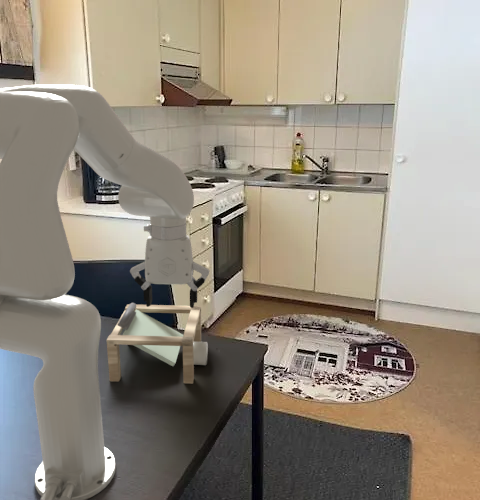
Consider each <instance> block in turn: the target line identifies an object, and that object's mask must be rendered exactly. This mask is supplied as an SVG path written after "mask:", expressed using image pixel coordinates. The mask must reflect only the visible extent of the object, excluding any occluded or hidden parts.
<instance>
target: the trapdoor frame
mask: <svg viewBox="0 0 480 500" xmlns="http://www.w3.org/2000/svg"><path fill="white" fill-rule="evenodd" d="M130 304H131V303H129V304H127V303H126V306H125V308H124V311H123V313H122V314H121V316H120V318H119V319H118V321H117V323H116V325H115V327H114V328H113V330H112V332H111V333H110V334H109V335H108V336H107V338H106V352H107V361H108V362H107V364H108V366H107V367H108V375H109V376H108V377H109V382H120V380H121V378H122V368H121V352H120V345H127V346H134V345H161V346H180V347H182V367H183V368H182V375H183V377H182V379H183V384H190V385H191V384H194V379H195V369H194V368H195V366H194V355H193V341H194V342H202V306H201V305H194V307H193V308H191V307H190V305H172V304H171V305H170V304H169V305H166V304H165V305H164V304H159V305H158V304H151V305H150V306H149V307H147V306H146V304H136V308H135V310H136V309H137V310H139V311H141V312H142V313H149V314H150V313H154V314H155V313H156V314H157V313H158V314H159V313H161V314H188V319H187V322H186V325H185V328H184V332H183V337H172V336H134V335H123V334H122V333H123V330H125V329H124V328H122V327H120V326H118V323H119V321H120V320H121V318H122V316H123V314H124V313H125V311H126V309H127V308H128V307H129V305H130ZM135 310H134V311H135Z"/></svg>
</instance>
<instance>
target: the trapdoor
mask: <svg viewBox="0 0 480 500" xmlns="http://www.w3.org/2000/svg"><path fill="white" fill-rule="evenodd" d="M129 304H130V305H129V307H128V308H127V309H126V311H125V310H124V311H125V313H124V312H123V313H124V314H123V313H122V314H123V316H122V315H121V316H122V318H121V317H120V318H121V320H120V321H119V320H118V321H119V323H118V322H117V323H118V326H120V327H122V328H124V329H123V330H124V331H123V332H122V335H134V336H172V337H183V335H184V333H180V332H179V331H177V330H176V329H173V328H172V327H170V326H168V325H166V324H165V323H162V322H161V321H158V319H155V318H154V317H151V316H149V315H148V314H146V313H145V312H141V311H139V310H137V309H136V310H135V308H136V305H137V304H136V303H135V302H131V303H129ZM134 310H135V311H134ZM133 346H134V347H136V348H138V350H139V349H140V350H141V351H144V352H145V353H147V354H149V355H151V356H153V357H154V358H156V359H158V360H160V361H162V362H164V363H165V364H168V365H169V366H172V367H174V366H175V364H176V362H177V359H178V355H179V353H180V349H181V346H161V345H133Z"/></svg>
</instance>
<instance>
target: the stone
mask: <svg viewBox="0 0 480 500" xmlns="http://www.w3.org/2000/svg"><path fill="white" fill-rule="evenodd" d="M208 348H209V346H208V341H201V342H194V341H193V355H194V365H195V366H197V365H198V366H206V365H207V364H208V354H209V353H208V352H209V349H208Z"/></svg>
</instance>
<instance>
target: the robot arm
mask: <svg viewBox="0 0 480 500" xmlns="http://www.w3.org/2000/svg"><path fill="white" fill-rule="evenodd" d="M74 151H75V152H76V153H77V155H79V157H80V158H81V159H82V160H84V161H85V163H86V164H87V165H88V166H89V167H90V168H91V169H92V170H93V171H94V173H96V175H98V176H99V177H100V178H102V179H103V180H107V181H109V182H111V183H113V184H117V185H120V188H119V191H118V195H117V196H118V203H119V205H120V208H121V209H122V210H123V211H124V212H126V213H127V214H129V215H132V216H138V217H146V218H149V221H150V222H149V224H147V225H145V224H144V225H143V232H147V233H148V234H149V235H148V237H147V238H146V243H145V252H144V253H145V254H144V255H145V256H144V257H145V258H144V261H143V262H141V263H139V264H136V265H135V266H132V267H131V268H130V270H129V273H130V274H131V276H132V278H133V279H134V282H135V283H137V285H138V286H139V287H140V288H141V289H142V290H143V301H144V302H146V303H145V305H146V306H147V307H149V306H150V305H152V303H153V285H151V284H154V285H181V286H182V285H187V286H188V287H189V288H190V289H189V306H190V307H191V308H193V307H194V306H195V303H197V304H198V289H200V288H201V286H202V285H204V283H205V282H206V280H207V278H208V276H209V275H210V269H209V268H208V267H206V266H205V267H204V266H203V265H202V264H199V263H197V262H195V261H194V258H193V248H192V247H193V246H192V243H191V242H192V241H191V238H190V235H188V234H187V217H188V216H189V215H190V214H191V212H192V210H193V208H194V204H195V202H194V201H195V196H194V195H195V194H194V192H193V191H194V190H193V187H192V185H191V183H190V181H189V179H188V178H187V176H186V174H185V173H184V172H183V170H182V169H181V168H180V167H179V166H178V164H177V163H175V162H174V161H172V160H171V159H169V158H168V157H166V156H164V155H163V154H160V153H159V152H157V151H156V150H154V149H152V148H150V147H148V146H147V145H144V144H143V143H140V142H138V141H137V140H136V139H135V138H134V136H133V134H131V132H130V131H129V129H128V128H127V127H126V126H125V125H124V122H122V120H121V119H120V117H119V116H118V115H117V113H116V112H115V111H114V109H113V108H112V107H111V105H110V104H109V102H108V101H107V100H106V98H105V97H104V96H103V94H101V93H100V92H99V91H98V90H96V89H94V88H92V87H89V86H85V85H79V84H78V85H77V84H76V85H75V84H31V85H21V86H13V87H12V86H11V87H3V88H2V87H1V88H0V160H1V161H0V349H1V350H3V351H7V352H11V353H12V352H13V353H18V354H22V355H23V354H24V355H26V356H27V355H28V356H31V357H36V358H39V359H40V360H42V365H43V366H42V367H41V369H40V370H39V371H38V372H37V375H36V376H35V378H34V380H33V387H32V388H33V398H34V403H35V404H34V405H35V412H36V419H37V421H36V422H37V428H38V434H39V442H40V443H39V444H40V449H41V457H42V459H41V460H42V461H41V463H40V464H39V465H38V467H37V469H36V471H35V474H34V487H35V489H36V491H37V494H39V496H40V499H39V500H88V499H90V498H92V497H94V496H96V495H98V494H99V493H100V492H102V491H103V490H105V489H106V487H107V486H108V485H109V484H110V483H111V481H112V479H113V478H114V476H115V475H116V467H117V463H116V458H115V455H114V453H112V451H111V450H110V449H109V448H107V447H105V439H104V438H105V437H104V429H103V428H104V427H103V416H102V415H103V414H102V405H101V404H102V403H101V392H100V381H99V366H98V365H99V360H98V359H99V348H100V347H99V346H100V340H101V339H100V338H101V331H102V330H101V329H102V320H101V314H100V313H99V310H98V309H97V307H96V306H95V305H94V304H92V302H89V301H87V300H86V299H84V298H81V297H78V296H74V295H69V294H67V293H68V292H69V291H70V290H71V289H72V287H73V285H74V280H75V277H76V276H75V275H76V274H75V273H76V272H75V265H74V259H73V256H72V252H71V249H70V244H69V242H68V241H69V240H68V237H67V235H66V230H65V226H64V223H63V220H62V216H61V212H60V207H59V201H58V190H59V184H60V180H61V178H62V174H63V173H64V170H65V167H66V165H67V163H68V161H69V159H70V157H71V155H72V153H73V152H74ZM143 270H144V277H145V278H144V277H143V276H142V275H141V274H140V271H143ZM194 271H196V272H197V273H199V274H201V275H200V277H199V278H198V279H195V277H194V276H193V275H194Z"/></svg>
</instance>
